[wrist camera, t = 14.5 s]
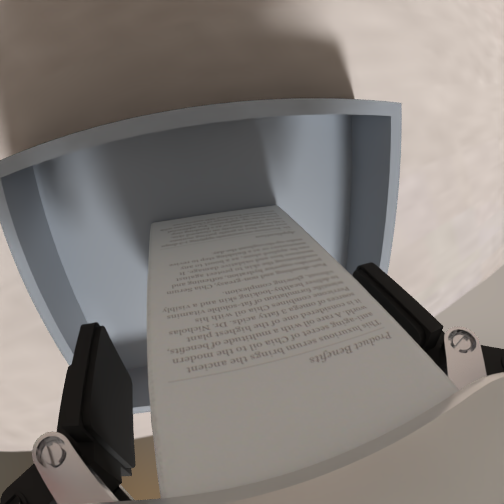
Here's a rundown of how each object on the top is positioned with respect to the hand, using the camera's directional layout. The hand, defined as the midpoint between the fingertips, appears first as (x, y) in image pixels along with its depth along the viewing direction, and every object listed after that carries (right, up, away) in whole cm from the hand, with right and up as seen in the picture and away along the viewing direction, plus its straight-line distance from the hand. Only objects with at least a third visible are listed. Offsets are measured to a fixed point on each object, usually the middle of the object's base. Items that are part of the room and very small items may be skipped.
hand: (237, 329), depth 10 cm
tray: (-2, +3, +5) cm, 6 cm away
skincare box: (-1, +3, +5) cm, 5 cm away
